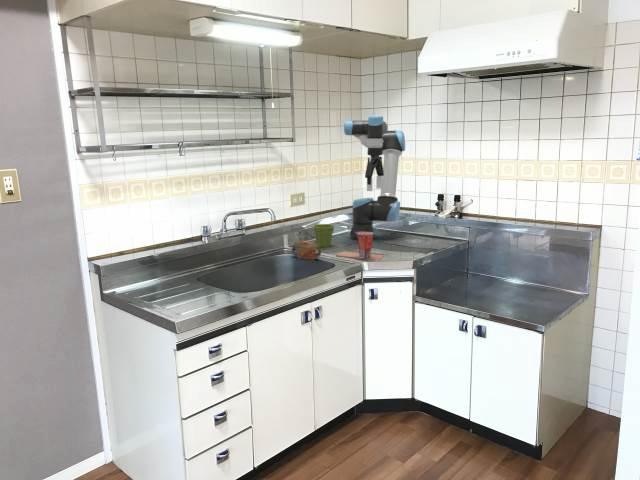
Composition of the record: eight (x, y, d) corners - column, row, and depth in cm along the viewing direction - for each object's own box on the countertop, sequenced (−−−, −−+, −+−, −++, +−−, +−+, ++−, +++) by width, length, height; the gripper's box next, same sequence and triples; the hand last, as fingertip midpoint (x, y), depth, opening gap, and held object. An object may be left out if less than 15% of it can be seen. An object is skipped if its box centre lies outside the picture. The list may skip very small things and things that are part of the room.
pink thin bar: (347, 250, 273) (347, 250, 273) (387, 255, 264) (387, 254, 264) (345, 251, 271) (345, 251, 271) (385, 256, 262) (385, 255, 262)
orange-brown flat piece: (292, 257, 259) (291, 240, 258) (295, 256, 262) (295, 239, 261) (319, 260, 253) (319, 243, 251) (322, 259, 255) (322, 242, 254)
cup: (373, 255, 260) (373, 231, 258) (373, 259, 252) (374, 234, 250) (354, 255, 261) (354, 231, 259) (354, 259, 253) (354, 234, 250)
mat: (344, 252, 270) (344, 251, 270) (384, 256, 260) (384, 255, 260) (335, 256, 261) (335, 255, 261) (377, 260, 252) (377, 259, 252)
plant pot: (326, 249, 277) (326, 228, 275) (308, 246, 284) (308, 226, 282) (339, 245, 286) (339, 225, 284) (321, 243, 293) (321, 223, 291)
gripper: (373, 148, 251) (372, 192, 255) (390, 146, 273) (389, 187, 277) (358, 147, 254) (358, 191, 258) (376, 146, 276) (376, 187, 280)
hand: (374, 189), depth 267 cm, fingers open, 13 cm apart
